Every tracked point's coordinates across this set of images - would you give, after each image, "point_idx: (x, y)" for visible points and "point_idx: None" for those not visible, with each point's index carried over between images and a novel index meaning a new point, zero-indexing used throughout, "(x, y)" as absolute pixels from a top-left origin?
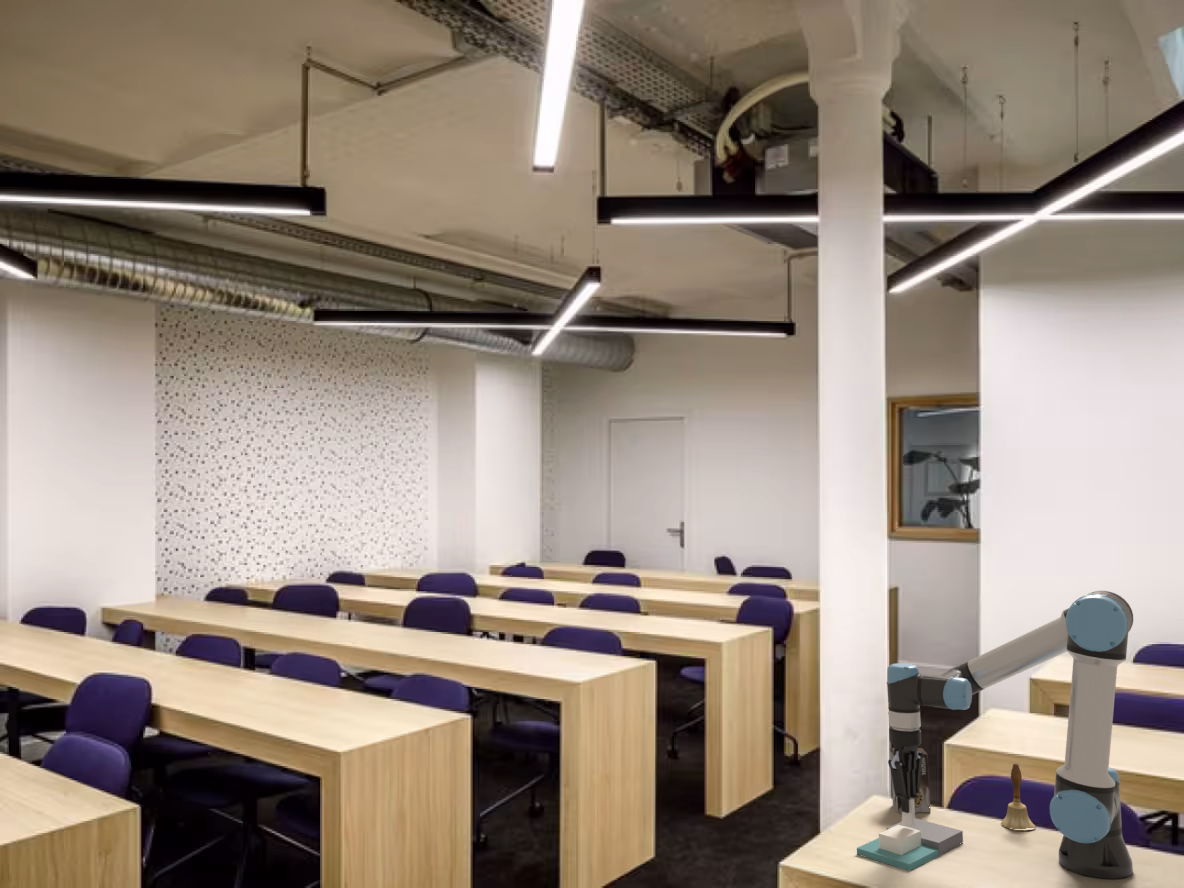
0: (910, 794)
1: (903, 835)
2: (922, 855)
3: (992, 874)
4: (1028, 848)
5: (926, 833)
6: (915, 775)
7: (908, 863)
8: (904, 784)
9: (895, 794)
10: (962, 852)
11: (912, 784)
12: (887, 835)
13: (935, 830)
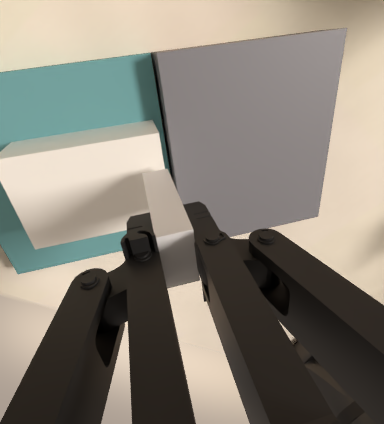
0: (201, 276)
1: (79, 224)
2: (104, 247)
3: (180, 327)
4: (349, 274)
5: (226, 182)
6: (329, 353)
7: (18, 269)
8: (99, 413)
9: (69, 289)
10: (242, 237)
11: (223, 344)
12: (13, 197)
13: (270, 178)
